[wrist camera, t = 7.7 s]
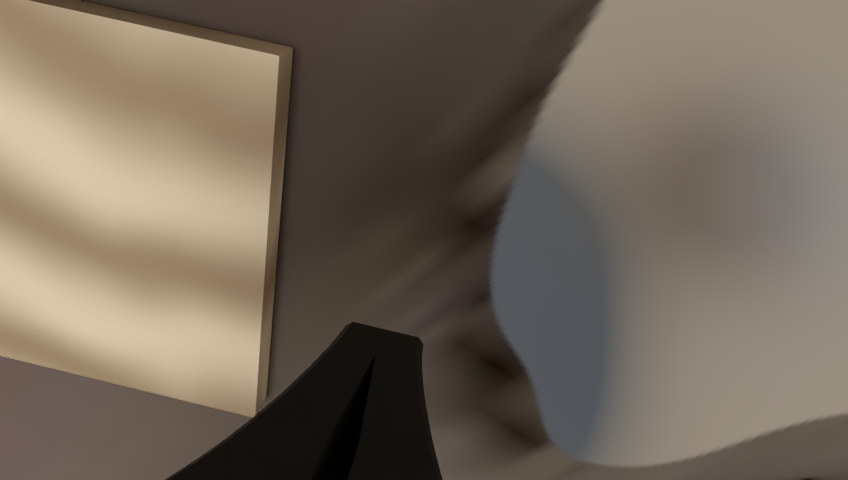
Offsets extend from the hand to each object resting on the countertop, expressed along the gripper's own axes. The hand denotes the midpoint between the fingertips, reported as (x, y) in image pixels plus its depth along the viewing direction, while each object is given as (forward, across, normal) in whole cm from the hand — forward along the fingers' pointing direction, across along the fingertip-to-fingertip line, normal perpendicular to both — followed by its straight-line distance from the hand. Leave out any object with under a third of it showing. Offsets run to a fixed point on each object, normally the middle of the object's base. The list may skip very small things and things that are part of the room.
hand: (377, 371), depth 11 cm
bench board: (+9, +17, +4) cm, 20 cm away
